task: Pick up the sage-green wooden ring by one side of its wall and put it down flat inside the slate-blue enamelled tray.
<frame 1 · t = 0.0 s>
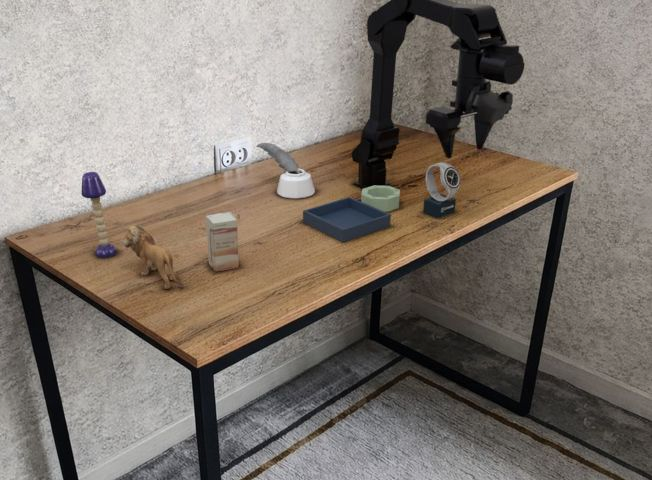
hand: (464, 153, 160), 15 cm above the table, tool pointing down, fingers open, 9 cm apart
ring: (380, 204, 176), on the table
lion figurine: (155, 278, 146), on the table
tray: (346, 224, 166), on the table
watch: (439, 213, 171), on the table
toy lamp: (104, 254, 155), on the table
small carton box: (224, 266, 150), on the table
inkwell: (282, 188, 186), on the table
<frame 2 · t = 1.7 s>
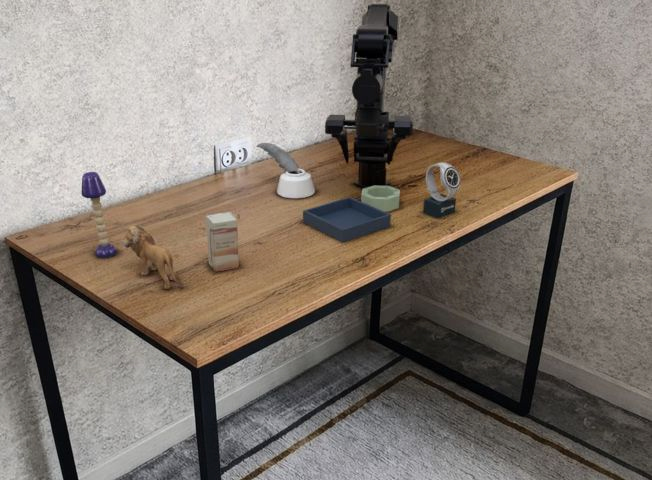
hand: (368, 163, 171), 10 cm above the table, tool pointing down, fingers open, 9 cm apart
nothing on the table moved.
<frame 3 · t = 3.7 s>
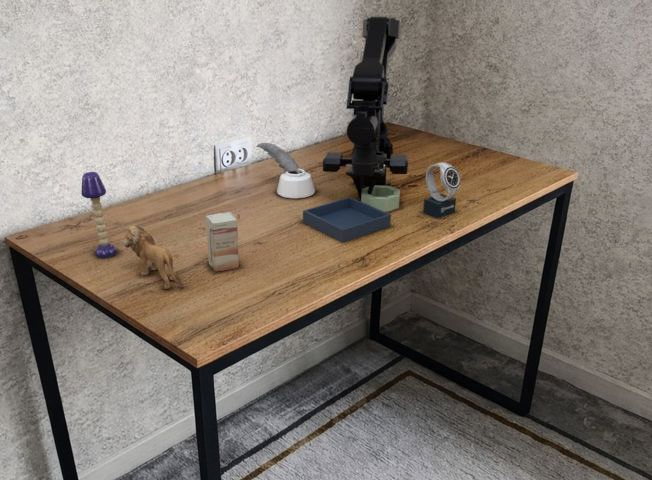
hand: (364, 199, 176), 1 cm above the table, tool pointing down, fingers closed on ring
ring: (380, 204, 176), on the table, touching gripper
everything else where it was.
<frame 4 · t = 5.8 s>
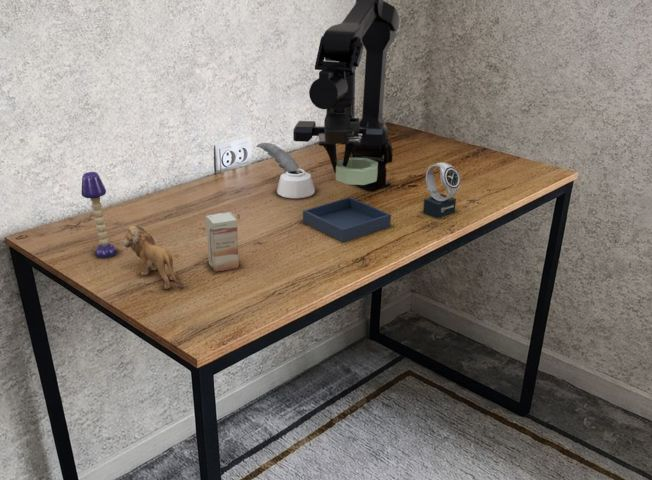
hand: (339, 172, 162), 11 cm above the table, tool pointing down, fingers closed on ring
ring: (356, 178, 162), point 10 cm above the table, touching gripper
everything else where it was.
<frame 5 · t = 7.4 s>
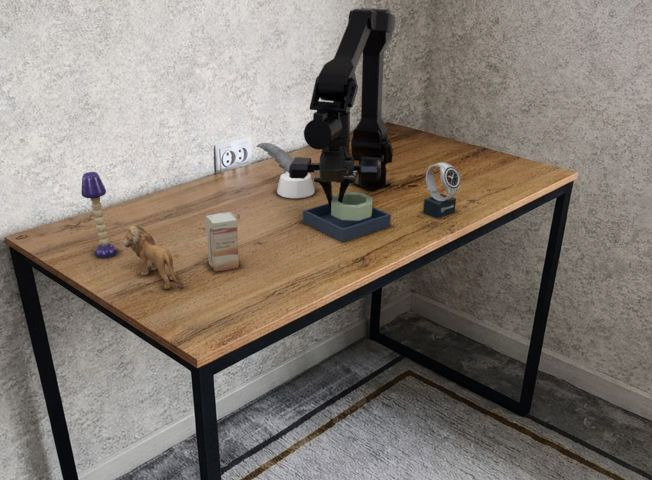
hand: (335, 207, 165), 4 cm above the table, tool pointing down, fingers closed on ring
ring: (351, 212, 165), point 3 cm above the table, touching gripper
everything else where it was.
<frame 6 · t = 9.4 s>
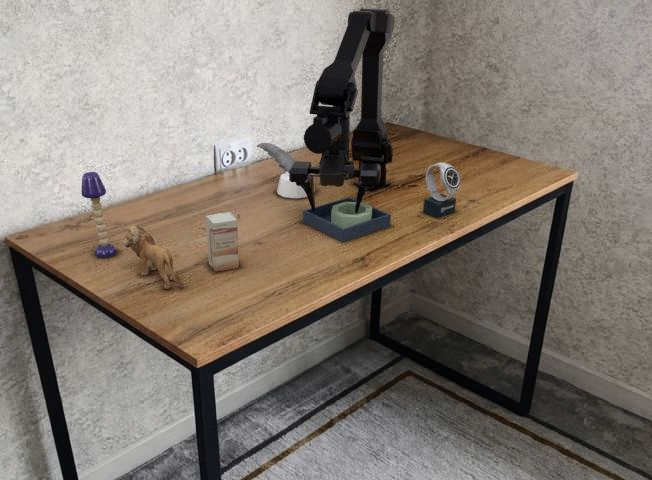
hand: (335, 211, 165), 3 cm above the table, tool pointing down, fingers open, 9 cm apart
ring: (351, 222, 166), resting on tray
everything else where it was.
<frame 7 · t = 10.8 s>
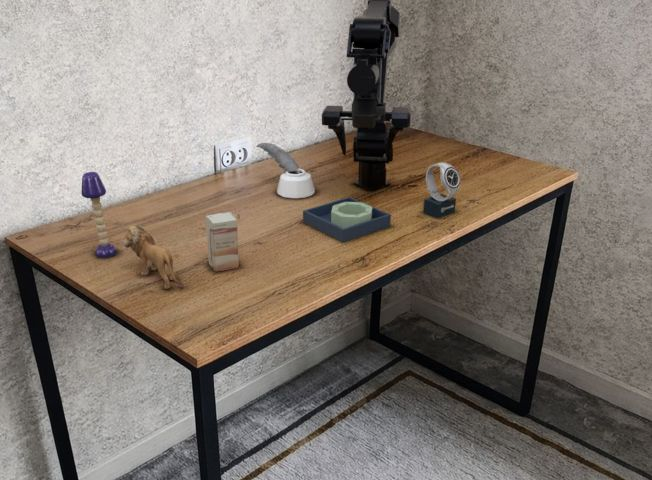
hand: (365, 155, 169), 12 cm above the table, tool pointing down, fingers open, 9 cm apart
nothing on the table moved.
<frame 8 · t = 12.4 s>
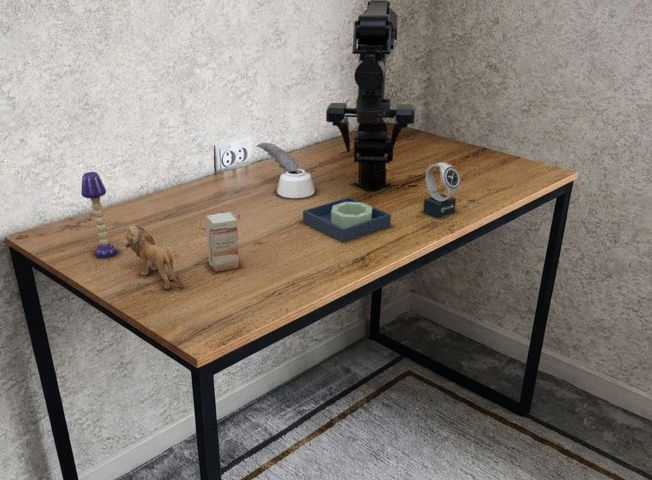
hand: (369, 152, 170), 12 cm above the table, tool pointing down, fingers open, 9 cm apart
nothing on the table moved.
at the end: ring 1.1 cm off-centre in the tray, point 0.5 cm above the tray's base; ring tilted 0°; the gripper is holding nothing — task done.
